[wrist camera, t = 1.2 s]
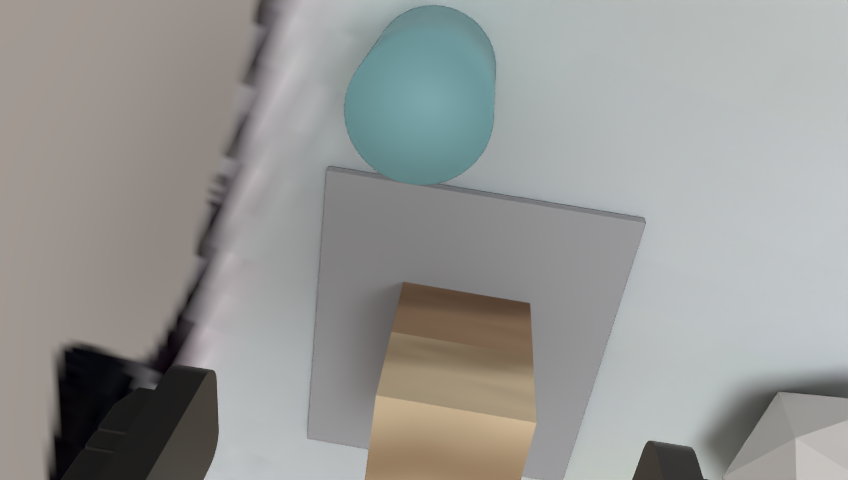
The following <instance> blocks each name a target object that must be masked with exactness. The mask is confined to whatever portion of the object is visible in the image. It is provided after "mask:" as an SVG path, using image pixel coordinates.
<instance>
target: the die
mask: <svg viewBox="0 0 848 480" xmlns="http://www.w3.org/2000/svg"><path fill="white" fill-rule="evenodd" d="M722 478H723V480H848V398H840V397H830V396H819V395H809V394H798V393H788V392H778V393H777V394H776V396H775V397H774V399H773V400H772V402H771V403H770V405H769V406H768V408H767V409H766V411H765V412H764V414H763V416H762V417H761V419H760V420H759V422H758V423H757V425H756V426H755V428H754V429H753V431H752V432H751V434H750V435H749V437H748V438H747V440H746V441H745V443H744V445H743V446H742V448H741V449H740V451H739V452H738V454H737V455H736V457H735V458H734V460H733V461H732V463H731V464H730V466H729V467H728V469H727V471H726V472H725V474H724V475H723V477H722Z"/></svg>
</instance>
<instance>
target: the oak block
mask: <svg viewBox="0 0 848 480" xmlns="http://www.w3.org/2000/svg"><path fill="white" fill-rule="evenodd" d="M536 423H537V421H536V402H535V384H534V365H533V356H530V355H524V354H518V353H513V352H507V351H501V350H495V349H489V348H483V347H477V346H472V345H466V344H460V343H454V342H448V341H442V340H436V339H431V338H425V337H419V336H413V335H407V334H401V333H395V332H391V335H390V339H389V343H388V348H387V352H386V356H385V360H384V364H383V368H382V372H381V376H380V381H379V385H378V389H377V393H376V399H375V406H374V414H373V422H372V429H371V437H370V444H369V452H368V460H367V467H366V475H365V480H521V477H522V473H523V469H524V466H525V462H526V459H527V455H528V452H529V448H530V445H531V441H532V438H533V434H534V430H535V427H536Z"/></svg>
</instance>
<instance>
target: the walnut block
mask: <svg viewBox="0 0 848 480" xmlns="http://www.w3.org/2000/svg"><path fill="white" fill-rule="evenodd" d="M391 332H395V333H401V334H407V335H413V336H419V337H425V338H431V339H436V340H442V341H448V342H454V343H460V344H466V345H472V346H477V347H483V348H489V349H495V350H501V351H507V352H513V353H518V354H524V355H530V356H533V346H532V327H531V308H530V303H526V302H521V301H515V300H509V299H503V298H497V297H491V296H485V295H479V294H473V293H467V292H461V291H455V290H449V289H444V288H438V287H432V286H426V285H420V284H414V283H408V282H403V286H402V290H401V294H400V298H399V302H398V306H397V310H396V314H395V319H394V323H393V327H392V331H391Z"/></svg>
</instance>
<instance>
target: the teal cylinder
mask: <svg viewBox="0 0 848 480" xmlns="http://www.w3.org/2000/svg"><path fill="white" fill-rule="evenodd" d="M495 78H496V61H495V55H494V51H493V48H492V45H491V43H490V40H489V38H488V37H487V35H486V34H485V32H484V31H483V29H482V28H481V27H480V26H479V25H478V24H477V23H476V22H475V21H474V20H473V19H472V18H470V17H469V16H467V15H466V14H464V13H462V12H460V11H458V10H455V9H453V8H449V7H445V6H437V5H431V6H422V7H418V8H415V9H412V10H409V11H407V12H405V13H403V14H402V15H400V16H399V17H397V18H396V19H395V20H394V21H393V22H391V23H390V24H389V26H388V27H387V28H386V29H385V30H384V32H383V33H382V35H381V36H380V38H379V39H378V40H377V42H376V43H375V45H374V46H373V48H372V49H371V50H370V52H369V53H368V55H367V56H366V58H365V59H364V60H363V62H362V63H361V65H360V66H359V68H358V69H357V71H356V72H355V74H354V75H353V77H352V79H351V81H350V84H349V86H348V89H347V93H346V97H345V104H344V115H345V123H346V127H347V131H348V134H349V136H350V139H351V141H352V143H353V145H354V147H355V148H356V150H357V151H358V153H359V154H360V155H361V157H362V158H363V159H364V160H365V161H366V162H367V163H368V164H369V165H370V166H371V167H373V168H374V169H375V170H376V171H378V172H380V173H381V174H383V175H385V176H387V177H389V178H391V179H393V180H396V181H399V182H403V183H407V184H414V185H430V184H437V183H440V182H444V181H447V180H450V179H452V178H454V177H456V176H458V175H460V174H462V173H463V172H464V171H466V170H467V169H468V168H470V167H471V166H472V165H473V164H474V163H475V162H476V161H477V159H478V158H479V157H480V156H481V154H482V153H483V151H484V149H485V148H486V146H487V143H488V141H489V139H490V135H491V132H492V127H493V119H494V98H495Z"/></svg>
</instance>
